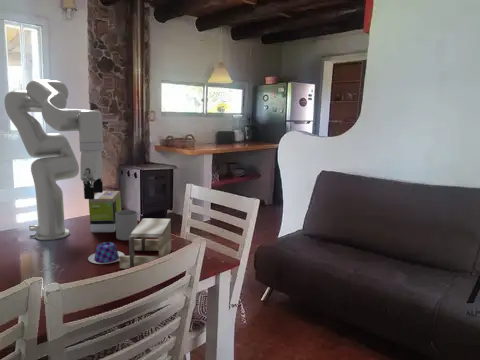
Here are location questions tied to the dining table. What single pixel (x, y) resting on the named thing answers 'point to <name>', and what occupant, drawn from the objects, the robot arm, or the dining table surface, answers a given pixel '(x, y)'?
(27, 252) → the dining table surface
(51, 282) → the dining table surface
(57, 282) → the dining table surface
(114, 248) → the pudding
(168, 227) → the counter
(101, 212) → the tea box
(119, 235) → the cup
